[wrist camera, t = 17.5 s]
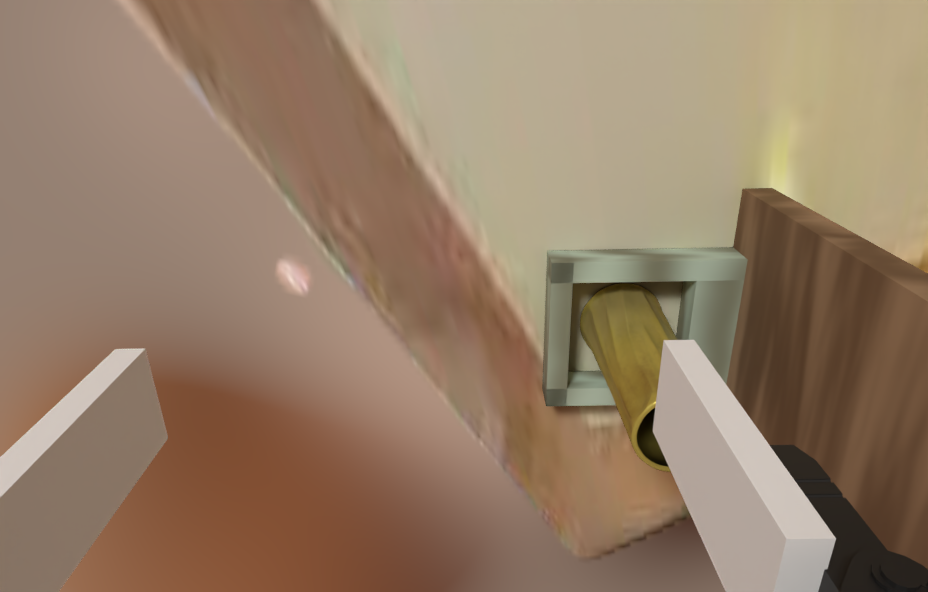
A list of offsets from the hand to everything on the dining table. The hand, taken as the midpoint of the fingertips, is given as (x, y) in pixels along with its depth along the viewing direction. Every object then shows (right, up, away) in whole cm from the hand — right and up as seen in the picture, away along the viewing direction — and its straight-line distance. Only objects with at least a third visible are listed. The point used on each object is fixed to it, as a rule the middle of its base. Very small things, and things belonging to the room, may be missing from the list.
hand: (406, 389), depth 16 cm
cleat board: (+15, +1, +31) cm, 35 cm away
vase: (+13, +1, +31) cm, 34 cm away
